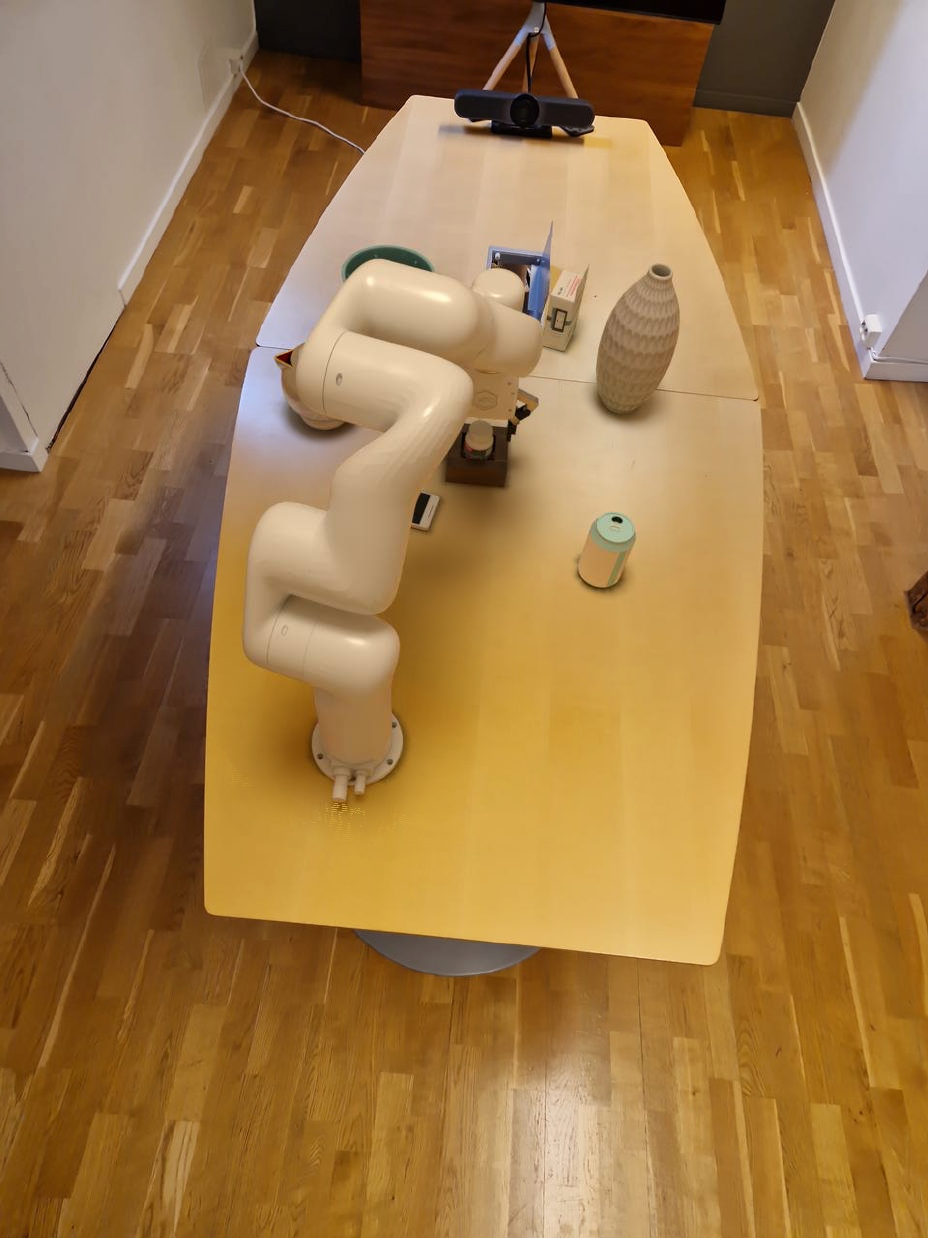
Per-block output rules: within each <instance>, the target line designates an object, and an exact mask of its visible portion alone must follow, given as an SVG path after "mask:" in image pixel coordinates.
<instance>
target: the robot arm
mask: <svg viewBox="0 0 928 1238" xmlns="http://www.w3.org/2000/svg"><path fill="white" fill-rule="evenodd" d="M525 295H526V290H525V285H524V282H523V281H522V279H521V277H520V276H519V275H518V274H516V273H515V272H513V271H511V270H508V269H506V268H501V267H493V268H488V269H487V268H486V269H484V270H482V271H480V272H479V273H478V274H477V275H476V276H475V277H474V279H473V281H472V283H471V287H470V286H468V285H466V284H465V283H464V282H462V281H460V280H458V279H456V278H454V277H451V276H448V275H444V274H441V273H437V272H435V273H433V272H429V271H426V270H422V269H418V268H414V267H410V266H407V265H404V264H400V263H396V262H393V261H389V260H385V259H372V260H369V261H367V262H365V263H364V264H362V265H361V266H359V267H358V268H357V269H356V270H355V271H354V272H353V273H352V274H351V275H350V276H349V277H348V279H347V280H346V281H345V282H343V283H342V285H341V286H340V288H339V289H338V291H337V292H336V293H335V295H334V296H333V298H332V299H331V301H330V302H329V304H328V306H327V307H326V309H325V310H324V312H323V313H322V315H321V316H320V318H319V319H318V321H317V322H316V324H315V325H314V327H313V329H312V330H311V332H310V333H309V335H308V337H307V338H306V340H305V341H304V342H305V344H304V346H303V348H302V351H301V353H300V356H299V359H298V363H297V367H296V388H297V391H298V394H299V397H300V398H301V400H302V401H303V403H304V404H305V405H306V406H308V407H309V408H310V409H311V410H313V411H315V412H317V413H320V414H322V415H325V416H328V417H332V418H335V419H339V420H342V421H346V422H345V423H349V424H352V425H356V426H360V427H362V428H365V429H370V430H373V431H376V432H381V433H382V434H381V435H380V436H378V437H377V438H376V439H374V440H372V441H371V442H369V443H367V444H366V445H363V447H361V448H360V449H358V450H356V451H355V452H354V453H353V454H351V455H350V456H349V457H348V458H347V459H346V460H345V461H343V462H342V463H341V464H340V466H339V467H337V469H336V470H335V471H334V472H333V473H334V474H333V475H332V478H331V482H330V490H329V491H330V492H329V497H328V504H327V510H326V509H322V508H318V507H315V506H312V505H310V504H309V505H308V504H307V503H306V504H305V503H303V502H302V503H301V502H295V501H282V502H278V503H275V504H273V505H272V506H269V507H268V508H267V509H266V510H265V511H264V512H263V514H262V515H261V517H260V518H259V519H258V521H257V524H256V526H255V528H254V529H253V531H252V532H253V533H252V536H251V539H250V542H249V547H248V551H247V559H246V566H245V567H246V569H245V583H244V585H245V586H244V598H243V599H244V600H243V615H242V631H241V633H242V634H241V641H242V643H241V644H242V649H243V653H244V655H245V657H246V659H247V660H248V661H249V662H250V663H252V664H253V665H255V666H257V667H258V668H261V669H263V670H266V671H269V672H271V673H275V674H277V675H281V676H284V677H287V678H289V679H292V680H295V681H299V682H302V683H304V684H307V685H308V686H312V688H313V690H312V692H313V693H312V694H313V696H312V697H313V702H314V707H315V711H316V717H317V723H316V725H315V727H314V729H313V732H312V736H311V750H312V755H313V758H314V761H315V763H316V765H317V766H318V767H317V768H319V770H320V771H321V772H322V773H323V774H324V775H325V776H326V777H327V778H329V779H330V780H332V781H333V782H334V784H333V787H332V794H331V801H333V802H335V803H346V802H347V797H348V790H349V788H348V786H349V787H354V788H353V794H355V795H357V796H358V795H359V796H360V795H364V794H365V791H366V786H369V785H373V784H375V783H377V782H379V781H380V780H383V779H384V778H386V776H388V775H389V774H390V773H391V772H392V771H393V770H394V769H395V767H396V766H397V765H398V763H399V760H400V759H401V756H402V753H403V747H404V735H403V730H402V727H401V724H400V723H399V720H398V719H397V717H396V716H395V715H394V713H393V712H392V711H393V709H392V705H393V704H392V695H393V694H392V693H393V692H392V686H393V679H394V676H395V673H396V669H397V667H398V663H399V660H400V655H401V641H400V637H399V634H398V632H397V630H396V629H395V628H394V627H393V625H391V624H390V623H389V622H387V621H386V620H384V619H382V618H380V617H379V616H376V615H379V614H380V613H383V612H385V611H386V610H387V609H388V608H389V607H390V606H391V605H392V604H393V602H394V599H395V598H396V595H397V593H398V590H399V587H400V583H401V581H402V580H401V579H402V574H403V570H404V564H405V560H406V554H407V550H408V545H409V539H410V533H411V529H412V527H411V523H412V518H413V513H414V509H415V505H416V501H417V499H418V497H419V495H420V493H421V491H422V492H423V489H424V487H425V486H426V484H427V482H428V481H429V480H430V478H431V476H432V475H434V473H435V471H436V470H437V469H438V467H439V466H440V464H441V463H442V461H443V460H444V459H445V458H446V457H447V455H448V451H449V450H450V448H451V446H452V445H453V443H454V441H455V440H456V438H457V436H458V434H459V433H460V431H461V429H462V427H463V425H464V423H466V421H467V418H475V419H485V420H495V421H496V420H497V421H506V420H507V424H506V427H507V433H506V441H507V442H508V443H511V440H512V436H516V434H517V429H518V425H520V423H521V421H523V420H524V419H527V418H528V417H530V416H531V414H532V413H533V412H534V411H535V410H536V409H537V408H538V407H539V398H538V396H535V395H533V394H531V393H529V392H527V391H526V390H524V389H522V388H520V386H519V385H520V378H521V379H522V378H523V379H525V378H527V377H528V376H529V375H530V374H532V373H533V371H534V370H536V368H537V365H538V364H539V362H540V360H541V358H542V357H541V356H542V354H543V349H544V346H543V342H544V335H543V334H544V329H543V326H542V324H541V322H540V321H539V320H538V319H537V318H536V317H534V316H531V315H529V314H527V313H524V312H523V308H524V304H525V303H524V302H525ZM518 401H519V402H520V403H523V405H522V406H520V407H519V406H518V405H517V404H518ZM320 758H321V759H320Z"/></svg>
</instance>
